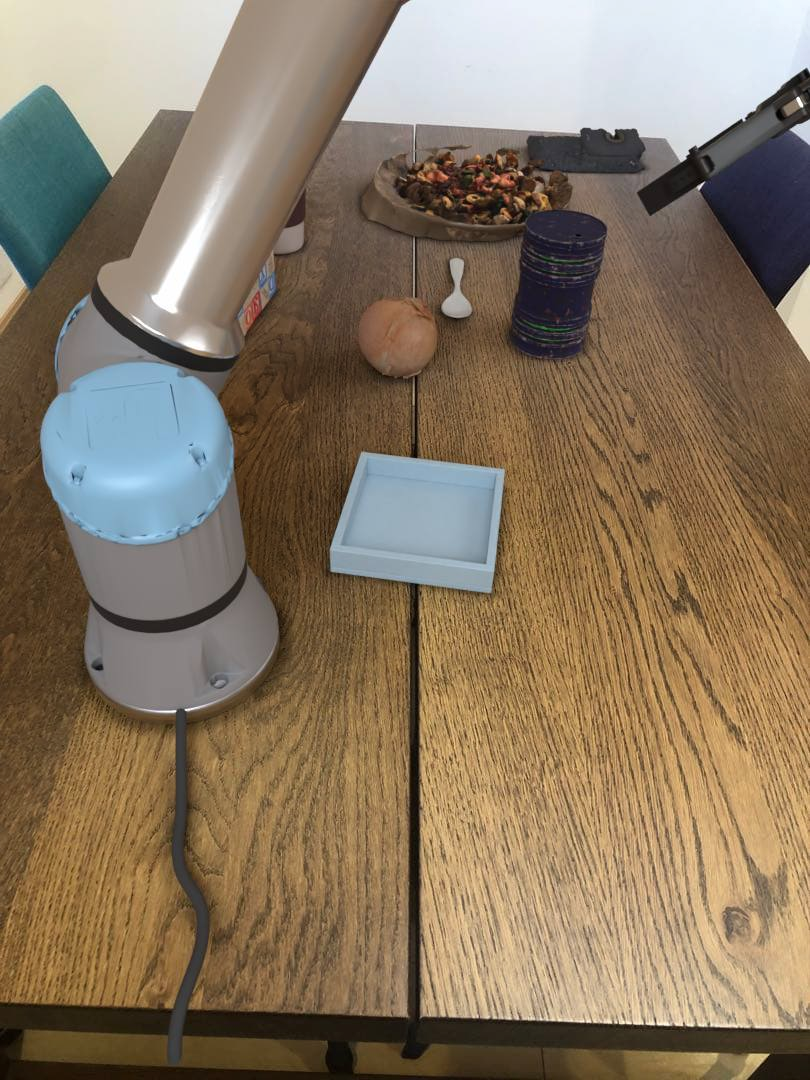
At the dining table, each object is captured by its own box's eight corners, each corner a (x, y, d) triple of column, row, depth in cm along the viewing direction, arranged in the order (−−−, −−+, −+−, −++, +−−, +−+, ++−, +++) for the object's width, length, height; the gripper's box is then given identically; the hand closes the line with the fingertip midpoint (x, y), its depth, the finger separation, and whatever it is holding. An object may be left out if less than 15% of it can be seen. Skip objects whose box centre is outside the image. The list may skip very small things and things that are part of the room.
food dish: (563, 181, 150) (572, 137, 145) (570, 262, 126) (581, 212, 121) (375, 161, 151) (376, 116, 146) (347, 237, 127) (348, 187, 122)
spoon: (440, 326, 107) (441, 314, 106) (442, 258, 122) (443, 247, 121) (471, 328, 107) (473, 316, 106) (470, 259, 122) (471, 249, 121)
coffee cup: (320, 254, 122) (316, 148, 112) (255, 263, 119) (245, 155, 109) (301, 228, 129) (296, 126, 118) (239, 236, 126) (228, 132, 116)
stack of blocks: (234, 285, 114) (224, 195, 106) (277, 291, 113) (270, 201, 105) (171, 363, 99) (152, 266, 90) (220, 370, 98) (206, 273, 89)
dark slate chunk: (519, 144, 161) (522, 118, 158) (627, 145, 163) (633, 120, 160) (534, 172, 150) (538, 145, 147) (650, 173, 152) (657, 146, 149)
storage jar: (496, 327, 108) (509, 213, 98) (561, 316, 111) (581, 205, 100) (530, 365, 101) (549, 247, 91) (599, 352, 104) (625, 237, 94)
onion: (421, 381, 103) (460, 312, 98) (402, 403, 95) (444, 328, 90) (357, 342, 103) (393, 270, 98) (332, 360, 95) (370, 283, 90)
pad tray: (490, 593, 73) (494, 571, 71) (330, 571, 74) (329, 549, 72) (501, 490, 83) (505, 468, 81) (361, 472, 85) (361, 451, 83)
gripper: (866, 120, 63) (641, 255, 80) (925, 58, 79) (725, 182, 95) (821, 30, 62) (601, 186, 78) (890, -16, 77) (694, 123, 93)
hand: (669, 184), depth 86 cm, fingers open, 13 cm apart
